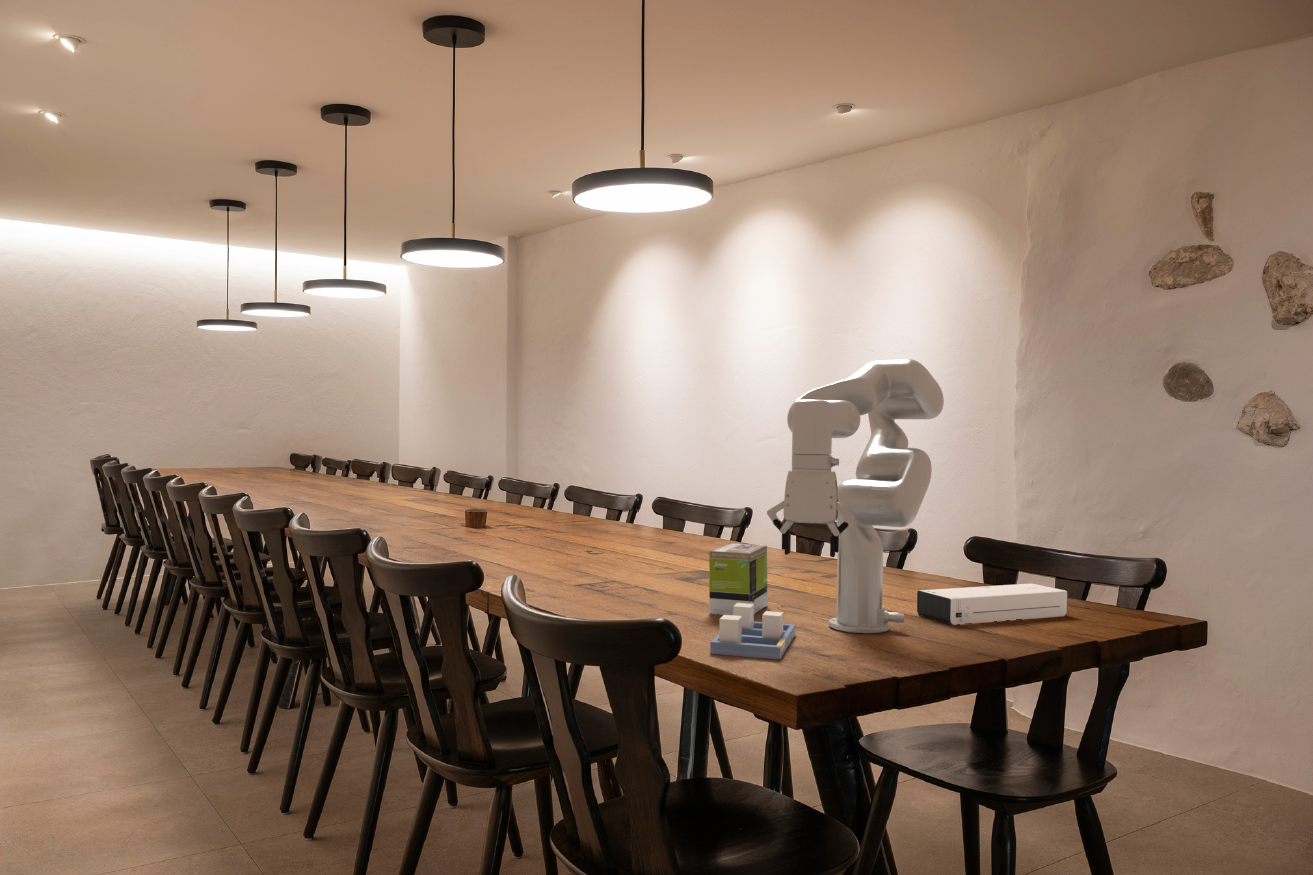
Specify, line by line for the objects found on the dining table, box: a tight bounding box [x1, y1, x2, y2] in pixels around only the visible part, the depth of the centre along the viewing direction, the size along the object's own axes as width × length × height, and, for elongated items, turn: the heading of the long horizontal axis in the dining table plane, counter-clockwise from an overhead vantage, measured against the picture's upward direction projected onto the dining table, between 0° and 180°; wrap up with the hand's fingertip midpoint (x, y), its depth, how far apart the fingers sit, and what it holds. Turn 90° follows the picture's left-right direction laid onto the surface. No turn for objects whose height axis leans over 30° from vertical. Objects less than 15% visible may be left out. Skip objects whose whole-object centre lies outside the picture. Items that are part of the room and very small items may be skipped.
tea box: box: [708, 543, 769, 616], centre depth 210 cm, size 15×10×15 cm
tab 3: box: [761, 610, 784, 638], centre depth 175 cm, size 4×4×5 cm
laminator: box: [916, 583, 1069, 626], centre depth 208 cm, size 34×12×6 cm, turn 112°
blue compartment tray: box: [709, 620, 796, 661], centre depth 176 cm, size 13×21×2 cm, turn 164°
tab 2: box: [733, 603, 755, 628], centre depth 183 cm, size 4×4×5 cm
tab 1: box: [718, 615, 742, 643], centre depth 171 cm, size 4×4×5 cm
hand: (809, 554), depth 173 cm, fingers open, 8 cm apart
